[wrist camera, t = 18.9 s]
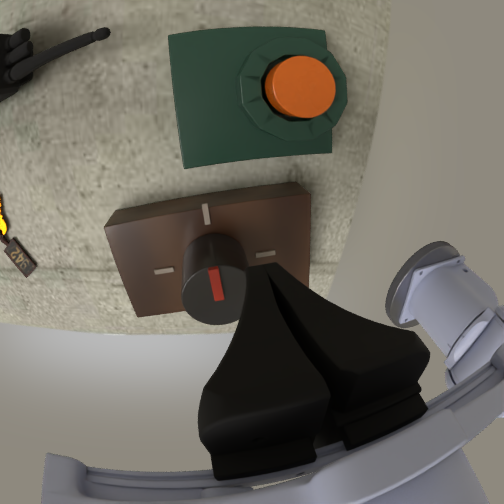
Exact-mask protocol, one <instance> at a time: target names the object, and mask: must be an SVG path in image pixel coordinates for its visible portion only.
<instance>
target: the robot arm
mask: <svg viewBox="0 0 504 504" xmlns="http://www.w3.org/2000/svg"><path fill="white" fill-rule="evenodd" d="M464 261H465V256H463V255H461V256H458V257H455V258H452V259H448V260H445V261H442V262H438V263H435V264H432V265H428V266H425V267H421V268H418V269H415V270H414V272H413V275H412V279H411V282H410V286H409V289H408V293H407V296H406V299H405V303H404V306H403V309H402V312H401V315H400V318H399V323H400V324H403V323H405V322H408V321H411V320H413V319H416V320H417V321H418V322H419V324H420V325H421V326H422V327H423V328H424V330H425V331H426V332H427V333H428V334H429V336H430V337H431V338H432V340H433V341H434V342H435V343H436V345H437V346H438V347H439V349H440V350H441V351H442V352H443V354H444V355H445V356H446V357H447V359H446V360H445V361H444V363H445V365H446V366H447V367H448V368H447V369H446V372H445V382H446V385H447V388H448V390H447V391H445V392H444V393H442V394H440V395H439V396H437V397H435V398H434V399H432V400H430V401H429V402H426V403H425V402H424V400H423V399H422V397H421V396H420V394H419V393H420V392H421V387H420V385H419V384H418V382H417V381H418V380H419V378H420V376H421V375H422V373H423V371H424V370H425V368H426V366H427V364H428V362H429V359H430V352H429V350H428V348H427V347H426V346H425V345H424V343H423V342H422V341H421V339H420V338H419V337H418V335H417V334H416V333H415V332H413V331H409V330H404V329H399V328H395V327H391V326H387V325H384V324H381V323H377V322H374V321H371V320H368V319H366V318H363V317H361V316H358V315H356V314H354V313H351V312H349V311H347V310H344V309H343V308H341V307H339V306H337V305H335V304H333V303H331V302H329V301H328V300H326V299H324V298H323V297H321V296H320V295H318V294H317V293H315V292H314V291H312V290H311V289H309V288H308V287H307V286H305V285H304V284H303V283H301V282H300V281H299V280H297V279H296V278H295V277H294V276H293V275H291V274H290V273H289V272H288V271H287V270H285V269H284V268H283V267H282V266H281V265H279V264H278V263H277V262H273V263H267V264H261V265H255V266H250V267H247V268H246V269H245V277H246V291H245V299H244V303H243V308H242V312H241V316H240V319H239V322H238V325H237V328H236V331H235V333H234V336H233V338H232V341H231V343H230V345H229V347H228V350H227V351H226V353H225V355H224V357H223V359H222V360H221V362H220V364H219V366H218V367H217V369H216V371H215V372H214V374H213V375H212V376H211V378H210V379H209V381H208V382H207V384H206V385H205V386H204V388H203V392H202V396H201V400H200V405H199V411H198V429H199V437H200V440H201V442H202V443H203V445H204V446H205V447H206V449H207V450H208V452H209V453H210V454H211V461H212V468H213V469H211V470H200V471H183V472H140V471H123V470H111V469H101V468H94V467H87V466H86V465H85V464H83V463H82V462H80V461H78V460H76V459H74V458H71V457H67V456H61V455H56V454H52V453H47V454H46V458H45V466H44V475H43V484H42V497H41V504H489V501H488V499H487V497H486V495H485V493H484V491H483V489H482V486H481V484H480V483H479V481H478V478H477V477H476V474H475V473H474V471H473V469H472V467H471V465H470V463H469V461H468V459H467V457H466V456H465V454H464V452H463V450H462V449H461V447H463V446H464V445H465V444H466V443H468V442H469V441H471V440H472V439H473V438H474V437H475V436H477V435H478V434H479V433H480V432H481V431H483V430H484V429H485V428H486V427H487V426H488V425H489V424H491V423H492V422H493V421H494V420H495V419H496V418H502V417H503V418H504V305H501V306H499V305H498V300H497V297H496V294H495V292H494V290H493V289H492V288H491V287H490V286H489V285H488V284H487V283H486V282H485V281H484V280H483V279H481V278H480V277H479V276H478V275H477V274H476V273H474V272H473V271H472V270H471V269H470V268H469V267H467V266H466V265H465V264H464ZM313 472H314V473H313ZM310 473H311V474H310ZM306 474H308V475H306ZM302 475H305V476H302ZM299 476H302V477H300V478H296V479H293V480H289V481H286V482H283V483H279V484H276V485H271V486H267V487H264V488H259V489H255V490H253V488H251V487H252V486H257V485H263V484H268V483H273V482H278V481H282V480H286V479H291V478H295V477H299Z"/></svg>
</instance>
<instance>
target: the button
mask: <svg viewBox="0 0 504 504" xmlns="http://www.w3.org/2000/svg"><path fill="white" fill-rule="evenodd" d="M265 91H266V95H267V98H268V100H269V102H270V103H271V104H272V106H273V107H274V108H275V109H276V110H278V111H279V112H281V113H282V114H285V115H288V116H292V117H300V118H312V117H316V116H319V115H321V114H323V113H324V112H325V111H326V110H327V109H328V108H329V107H330V106H331V104H332V102H333V100H334V97H335V92H336V87H335V81H334V78H333V76H332V74H331V72H330V71H329V69H328V68H327V67H326V66H325V65H324V64H323V63H321V62H320V61H318V60H317V59H315V58H312V57H308V56H294V57H291V58H288V59H286V60H284V61H282V62H280V63H278V64H277V65H275V66H274V67H273V68H272V69H271V70H270V72H269V73H268V75H267V78H266V81H265Z"/></svg>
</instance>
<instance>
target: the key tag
mask: <svg viewBox="0 0 504 504" xmlns="http://www.w3.org/2000/svg"><path fill="white" fill-rule="evenodd" d="M0 201H1V197H0ZM1 206H2V204H1V202H0V207H1ZM1 211H2V209H1V208H0V240H1V242H2V243H4V244H5V245H6V246H7V247H6V248H5V250H4V252H5V253H6V254H7V256H8V257H9V258H10V259H11V261H12V262H13V263H14V264H15V265H16V267H17V268H18V269H19V270H20V271H21V272H22V273H23V275H24V276H25V277H26V278H27V277H28V276H29V275H30V274H31V273H32V271H33V270H34V269H35V268H36V265H35V264H34V262H33V261H32V260H31V259H30V258H29V257H28V255H27V254H26V253H25V252H24V250H23V249H22V248H21V247H20V245H19V244H18V243H17V242H16V241H15V239H14V238H13V239H12V240H11V241H10V243H9V242H8V241H7V239H6V238H5V236H4V234H5V233H6V232H7V224H6V221H5V220H4V219H3V215H1Z"/></svg>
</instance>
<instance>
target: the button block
mask: <svg viewBox="0 0 504 504" xmlns="http://www.w3.org/2000/svg"><path fill="white" fill-rule="evenodd" d="M168 42H169V54H170V65H171V75H172V85H173V94H174V102H175V110H176V118H177V126H178V133H179V140H180V147H181V154H182V161H183V167H184V169H188V168H194V167H200V166H207V165H213V164H220V163H227V162H235V161H243V160H251V159H260V158H270V157H281V156H293V155H307V154H324V153H332V128H333V127H334V126H335V125H336V124H337V122H338V120H339V118H340V116H341V114H342V112H343V111H344V109H345V107H346V105H347V85H346V77H345V74H344V73H343V71H342V69H341V68H340V66H339V64H338V63H337V61H336V59H335V58H334V56H333V55H332V54H331V52H329V51H327V44H326V35H325V30H317V29H307V28H293V27H233V28H219V29H208V30H199V31H192V32H185V33H178V34H172V35H168ZM294 56H308V57H312V58H315V59H317V60H318V61H320V62H321V63H323V64H324V65H325V66H326V67H327V68H328V69H329V71H330V72H331V74H332V76H333V78H334V81H335V87H336V92H335V97H334V100H333V102H332V104H331V106H330V107H329V108H328V109H327V110H326V111H325V112H324V113H323V114H321V115H319V116H316V117H312V118H300V117H292V116H288V115H285V114H282V113H281V112H279V111H278V110H276V109H275V108H274V107H273V106H272V104H271V103H270V102H269V100H268V98H267V95H266V91H265V81H266V78H267V75H268V73H269V72H270V70H271V69H272V68H273V67H274V66H275V65H277V64H278V63H280V62H282V61H284V60H286V59H288V58H291V57H294Z"/></svg>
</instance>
